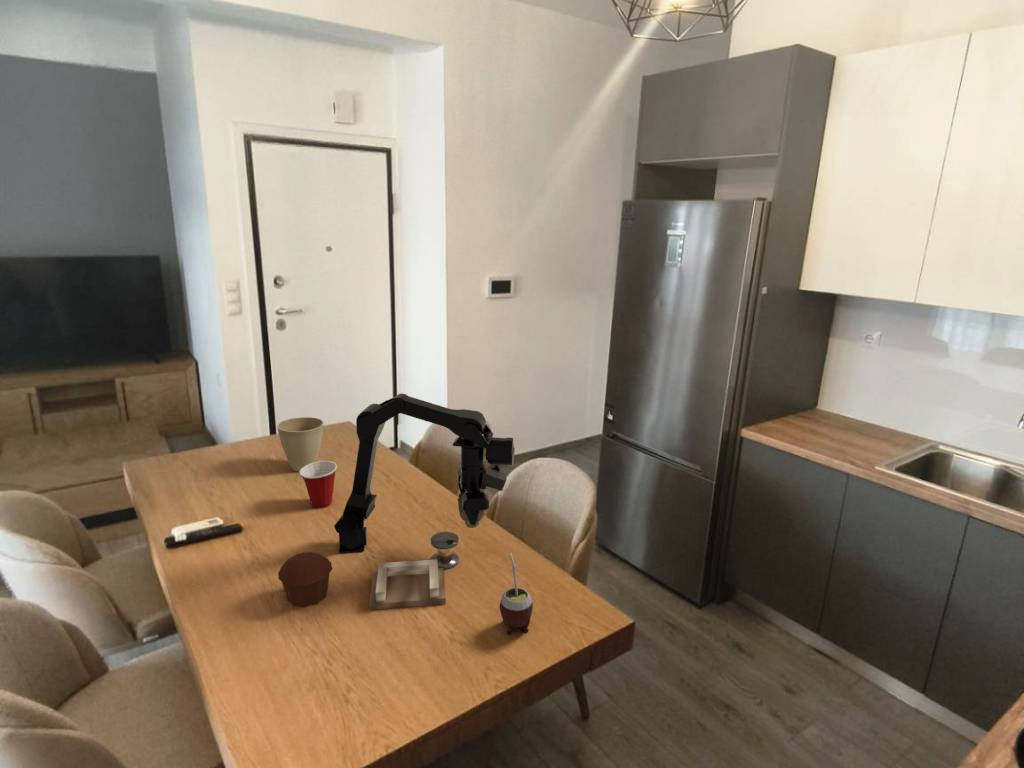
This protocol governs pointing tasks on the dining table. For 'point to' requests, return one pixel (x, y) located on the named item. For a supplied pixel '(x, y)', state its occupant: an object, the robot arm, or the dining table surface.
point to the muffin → (305, 578)
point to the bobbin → (445, 549)
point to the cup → (464, 516)
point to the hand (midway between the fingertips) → (471, 518)
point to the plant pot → (301, 440)
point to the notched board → (407, 584)
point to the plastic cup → (319, 482)
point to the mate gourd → (516, 606)
